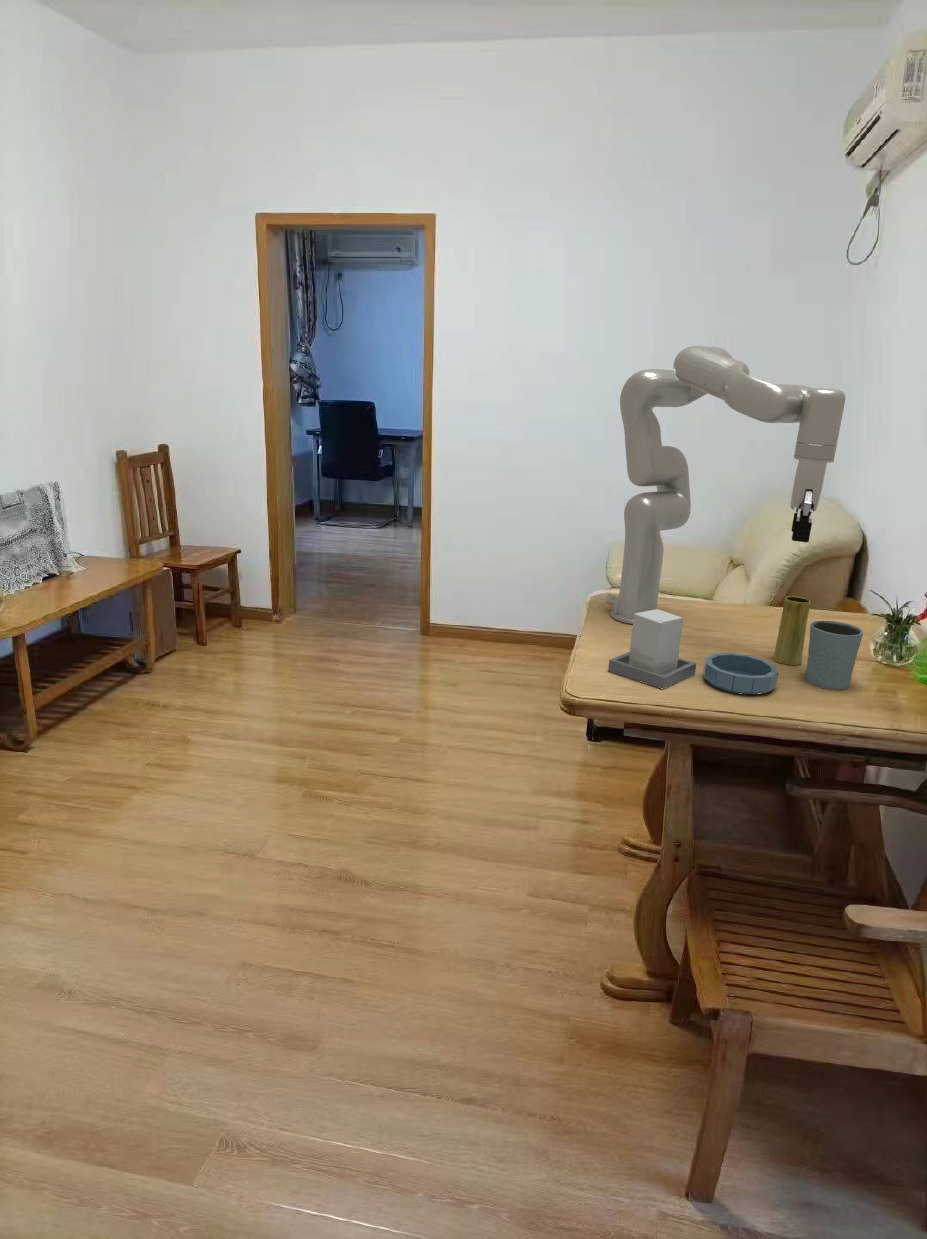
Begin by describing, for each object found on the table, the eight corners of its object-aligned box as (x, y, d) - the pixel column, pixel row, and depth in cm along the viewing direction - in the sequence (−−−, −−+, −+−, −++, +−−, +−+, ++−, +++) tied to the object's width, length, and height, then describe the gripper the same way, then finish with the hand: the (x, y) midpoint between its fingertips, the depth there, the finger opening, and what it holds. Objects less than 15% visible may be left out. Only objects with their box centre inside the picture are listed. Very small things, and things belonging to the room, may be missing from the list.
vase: (803, 667, 187) (815, 604, 183) (774, 663, 188) (785, 601, 184) (798, 657, 193) (810, 597, 188) (770, 654, 194) (781, 594, 189)
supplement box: (677, 675, 178) (685, 617, 174) (652, 681, 174) (659, 622, 170) (651, 664, 183) (658, 608, 180) (626, 670, 179) (633, 612, 175)
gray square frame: (608, 671, 178) (609, 659, 177) (641, 657, 187) (642, 646, 186) (663, 689, 170) (664, 677, 169) (694, 674, 179) (696, 663, 178)
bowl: (690, 681, 175) (693, 663, 174) (722, 665, 185) (725, 648, 184) (756, 702, 166) (759, 683, 165) (785, 684, 176) (788, 666, 175)
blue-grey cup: (832, 694, 172) (843, 637, 169) (790, 677, 181) (800, 623, 177) (862, 686, 178) (874, 631, 174) (820, 669, 186) (830, 617, 182)
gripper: (794, 447, 179) (780, 527, 185) (795, 455, 164) (780, 542, 169) (832, 450, 177) (817, 531, 182) (837, 458, 162) (820, 547, 167)
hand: (799, 536), depth 176 cm, fingers open, 9 cm apart
